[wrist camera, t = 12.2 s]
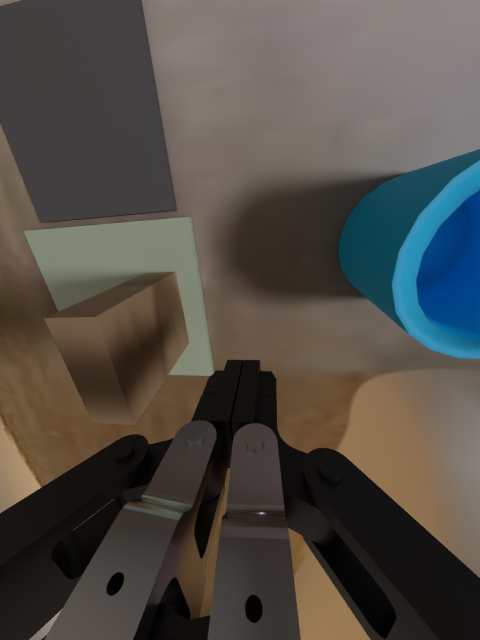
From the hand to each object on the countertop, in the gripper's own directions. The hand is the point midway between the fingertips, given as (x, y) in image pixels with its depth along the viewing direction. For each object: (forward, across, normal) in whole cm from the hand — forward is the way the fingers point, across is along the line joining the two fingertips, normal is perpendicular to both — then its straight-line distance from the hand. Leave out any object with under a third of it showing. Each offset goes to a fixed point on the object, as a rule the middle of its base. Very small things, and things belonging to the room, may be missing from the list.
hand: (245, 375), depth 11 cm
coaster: (+9, +11, -13) cm, 19 cm away
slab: (+8, +8, 0) cm, 11 cm away
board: (+9, +12, 0) cm, 15 cm away
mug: (+9, -12, -4) cm, 16 cm away
